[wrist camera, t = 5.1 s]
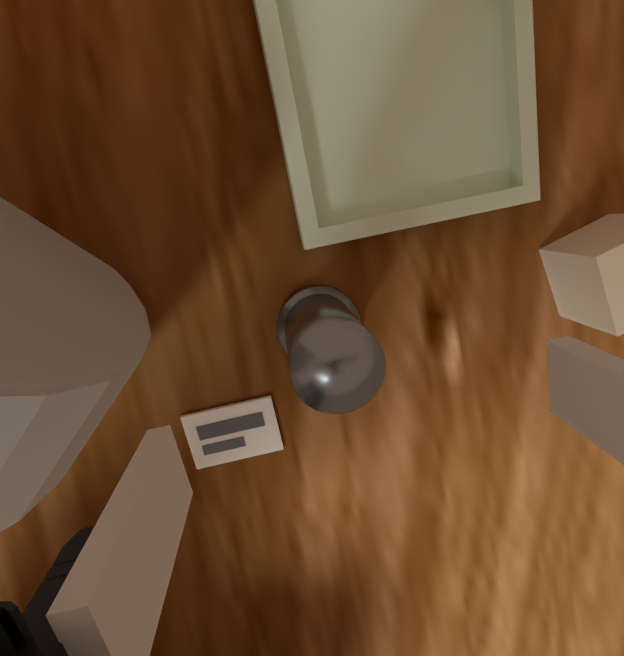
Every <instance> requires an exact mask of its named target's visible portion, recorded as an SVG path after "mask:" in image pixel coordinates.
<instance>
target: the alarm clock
mask: <svg viewBox="0 0 624 656" xmlns="http://www.w3.org/2000/svg"><path fill="white" fill-rule="evenodd" d="M150 338H151V331H150V327H149V322H148V317H147V313H146V309H145V307H144V306H143V304H142V303H141V301H140V300H139V298H138V297H137V295H136V293H135V292H134V290H133V289H132V287H131V286H130V284H129V283H128V282H127V281H126V280H125V279H124V278H123V277H122V276H121V275H120V274H119V273H118V272H117V271H116V270H115V269H114V268H112V267H111V266H109V265H108V264H106V263H104V262H103V261H101V260H100V259H98V258H96V257H95V256H93V255H92V254H90V253H88V252H87V251H85V250H84V249H82V248H81V247H79V246H77V245H76V244H74V243H73V242H71V241H69V240H68V239H66V238H65V237H63V236H62V235H60V234H58V233H57V232H55V231H54V230H52V229H50V228H49V227H47V226H46V225H44V224H43V223H41V222H39V221H38V220H36V219H35V218H33V217H31V216H30V215H28V214H27V213H25V212H24V211H22V210H20V209H19V208H17V207H16V206H14V205H12V204H11V203H9V202H8V201H6V200H4V199H3V198H1V197H0V532H1V531H3V530H4V529H6V528H8V527H10V526H12V525H14V524H15V523H17V522H19V521H20V520H21V519H22V518H23V517H24V516H25V515H26V514H27V513H28V512H29V511H30V510H31V509H32V508H34V507H35V506H36V505H37V504H38V503H39V502H40V501H41V500H42V499H43V498H44V497H45V496H46V495H47V494H48V493H50V492H51V491H52V490H53V489H54V488H55V487H56V486H57V485H58V484H59V483H60V482H61V481H62V479H63V478H64V476H65V475H66V473H67V472H68V470H69V469H70V467H71V466H72V464H73V463H74V461H75V460H76V458H77V457H78V455H79V454H80V452H81V451H82V449H83V447H84V446H85V444H86V443H87V441H88V440H89V438H90V437H91V435H92V434H93V432H94V431H95V429H96V428H97V426H98V425H99V423H100V422H101V420H102V419H103V417H104V416H105V414H106V413H107V411H108V410H109V408H110V407H111V405H112V404H113V402H114V401H115V399H116V398H117V396H118V395H119V393H120V392H121V390H122V389H123V387H124V386H125V384H126V383H127V381H128V380H129V378H130V377H131V375H132V374H133V372H134V371H135V369H136V368H137V366H138V365H139V363H140V362H141V360H142V358H143V356H144V353H145V351H146V348H147V346H148V343H149V341H150Z"/></svg>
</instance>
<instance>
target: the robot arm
mask: <svg viewBox="0 0 624 656" xmlns="http://www.w3.org/2000/svg"><path fill="white" fill-rule="evenodd" d="M548 366H549V396H550V411H551V412H552V413H553V414H555V415H556V416H558V417H559V418H560V419H562V420H563V421H564V422H566V423H567V424H568V425H570V426H571V427H573V428H574V429H575V430H577V431H578V432H579V433H581V434H582V435H584V436H585V437H586V438H588V439H589V440H590V441H592V442H593V443H595V444H596V445H597V446H599V447H600V448H601V449H603V450H604V451H605V452H607V453H608V454H610V455H611V456H612V457H614V458H615V459H616V460H618V461H619V462H621V463H622V464H623V465H624V359H622V358H619V357H617V356H615V355H612V354H610V353H608V352H605V351H603V350H601V349H599V348H596V347H594V346H592V345H589V344H587V343H585V342H582V341H580V340H578V339H575V338H573V337H571V336H565V337H561V338H556V339H552V340H548ZM192 495H193V491H192V488H191V485H190V482H189V479H188V476H187V473H186V471H185V468H184V465H183V462H182V459H181V456H180V453H179V450H178V447H177V444H176V441H175V438H174V435H173V432H172V429H171V426H170V425H167V426H163V427H158V428H154V429H149V430H147V432H146V433H145V435H144V437H143V439H142V441H141V443H140V444H139V446H138V448H137V450H136V452H135V453H134V455H133V457H132V459H131V461H130V463H129V464H128V466H127V468H126V470H125V472H124V474H123V475H122V477H121V479H120V481H119V483H118V485H117V486H116V488H115V490H114V492H113V494H112V495H111V497H110V499H109V501H108V503H107V505H106V506H105V508H104V510H103V512H102V514H101V516H100V517H99V519H98V521H97V523H96V525H95V526H93V527H88V528H84V529H81V530H80V531H79V532H78V533H77V534H76V535H75V536H74V537H73V538H72V539H71V540H70V541H68V542H67V543H66V544H65V545H64V547H63V548H62V550H61V551H60V553H59V555H58V556H57V558H56V560H55V561H54V563H53V568H50V570H49V571H48V573H47V575H46V576H45V578H44V582H43V583H41V584H40V586H39V588H38V589H37V591H36V593H35V594H34V596H33V598H32V599H31V601H30V603H29V604H28V606H27V608H26V609H25V611H24V612H23V614H22V615H21V613H20V611H19V609H18V607H17V606H16V605H15V604H14V603H13V602H5V601H0V656H150V652H151V648H152V645H153V641H154V637H155V633H156V630H157V626H158V622H159V618H160V615H161V611H162V607H163V604H164V600H165V596H166V592H167V589H168V585H169V581H170V577H171V574H172V570H173V566H174V562H175V559H176V555H177V551H178V547H179V544H180V540H181V536H182V532H183V529H184V525H185V521H186V518H187V514H188V510H189V506H190V503H191V499H192Z"/></svg>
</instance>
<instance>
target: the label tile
mask: <svg viewBox="0 0 624 656" xmlns="http://www.w3.org/2000/svg"><path fill="white" fill-rule="evenodd" d="M180 419H181V422H182V425H183V428H184V431H185V435H186V438H187V441H188V444H189V447H190V450H191V453H192V456H193V459H194V463H195V466H196V469H202V468H206V467H210V466H215V465H219V464H223V463H227V462H232V461H236V460H240V459H245V458H249V457H253V456H257V455H262V454H266V453H270V452H275V451H279V450H283V449H284V447H283V443H282V439H281V435H280V431H279V427H278V423H277V419H276V415H275V411H274V406H273V402H272V398H271V395H269V396H264V397H260V398H255V399H251V400H247V401H242V402H238V403H233V404H229V405H225V406H220V407H216V408H211V409H207V410H203V411H198V412H194V413H189V414H185V415H181V416H180Z"/></svg>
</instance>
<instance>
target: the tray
mask: <svg viewBox="0 0 624 656" xmlns="http://www.w3.org/2000/svg"><path fill="white" fill-rule="evenodd" d="M253 5H254V10H255V15H256V20H257V25H258V30H259V35H260V40H261V45H262V50H263V55H264V60H265V65H266V70H267V74H268V79H269V84H270V89H271V94H272V99H273V104H274V109H275V114H276V119H277V124H278V129H279V134H280V139H281V144H282V149H283V154H284V159H285V164H286V169H287V174H288V179H289V183H290V188H291V193H292V198H293V203H294V208H295V213H296V218H297V223H298V228H299V233H300V238H301V243H302V248H303V249H304V250H308V249H312V248H317V247H322V246H327V245H331V244H336V243H341V242H346V241H350V240H355V239H360V238H364V237H369V236H374V235H379V234H383V233H388V232H393V231H397V230H402V229H407V228H412V227H416V226H421V225H426V224H431V223H435V222H440V221H445V220H449V219H454V218H459V217H464V216H468V215H473V214H478V213H482V212H487V211H492V210H497V209H501V208H506V207H511V206H516V205H520V204H525V203H530V202H534V201H539V200H540V175H539V151H538V126H537V101H536V76H535V52H534V27H533V2H532V0H253Z"/></svg>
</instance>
